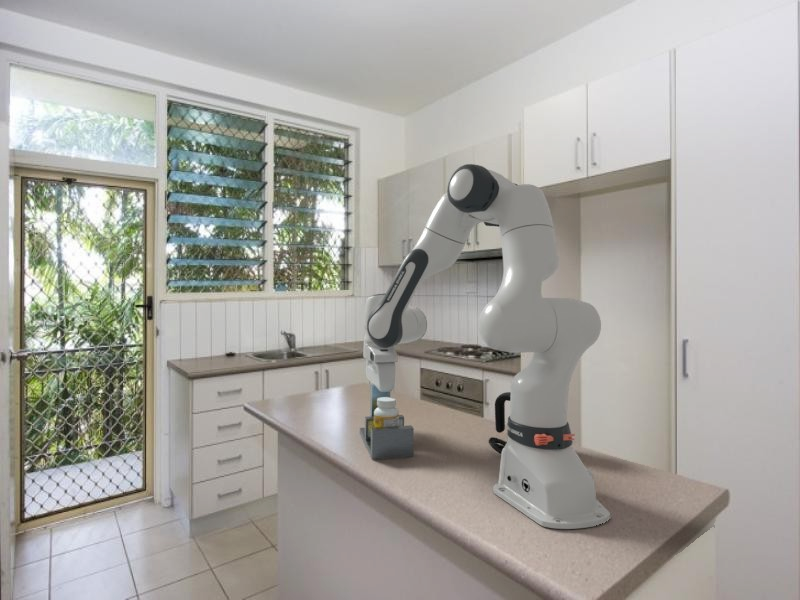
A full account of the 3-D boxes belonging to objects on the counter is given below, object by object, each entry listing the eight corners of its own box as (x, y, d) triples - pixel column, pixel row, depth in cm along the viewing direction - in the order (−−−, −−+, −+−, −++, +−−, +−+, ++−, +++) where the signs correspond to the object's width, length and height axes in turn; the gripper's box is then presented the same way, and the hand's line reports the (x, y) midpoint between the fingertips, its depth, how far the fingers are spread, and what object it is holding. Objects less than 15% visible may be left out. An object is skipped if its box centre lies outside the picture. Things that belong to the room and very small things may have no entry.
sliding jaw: (404, 438, 116) (404, 390, 116) (366, 441, 114) (366, 392, 114) (396, 428, 125) (397, 383, 125) (360, 430, 123) (361, 385, 122)
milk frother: (547, 444, 118) (549, 388, 118) (548, 466, 103) (550, 402, 103) (493, 438, 123) (494, 384, 122) (486, 458, 108) (487, 397, 107)
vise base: (413, 456, 108) (413, 428, 108) (372, 459, 106) (372, 430, 105) (394, 431, 127) (394, 406, 127) (359, 433, 125) (359, 408, 125)
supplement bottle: (401, 447, 110) (402, 401, 110) (376, 449, 108) (377, 402, 108) (394, 439, 116) (395, 395, 116) (370, 441, 114) (371, 396, 114)
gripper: (361, 346, 134) (360, 392, 135) (375, 357, 115) (374, 410, 115) (381, 346, 136) (380, 391, 136) (399, 356, 116) (398, 409, 117)
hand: (378, 400), depth 126 cm, fingers closed
